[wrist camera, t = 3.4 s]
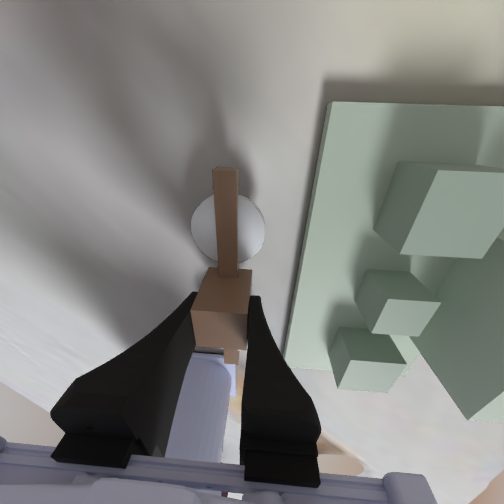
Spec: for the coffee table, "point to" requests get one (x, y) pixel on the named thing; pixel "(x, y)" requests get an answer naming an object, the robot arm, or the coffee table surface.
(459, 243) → the mint green baseplate
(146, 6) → the coffee table surface
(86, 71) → the coffee table surface
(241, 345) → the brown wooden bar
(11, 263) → the coffee table surface
